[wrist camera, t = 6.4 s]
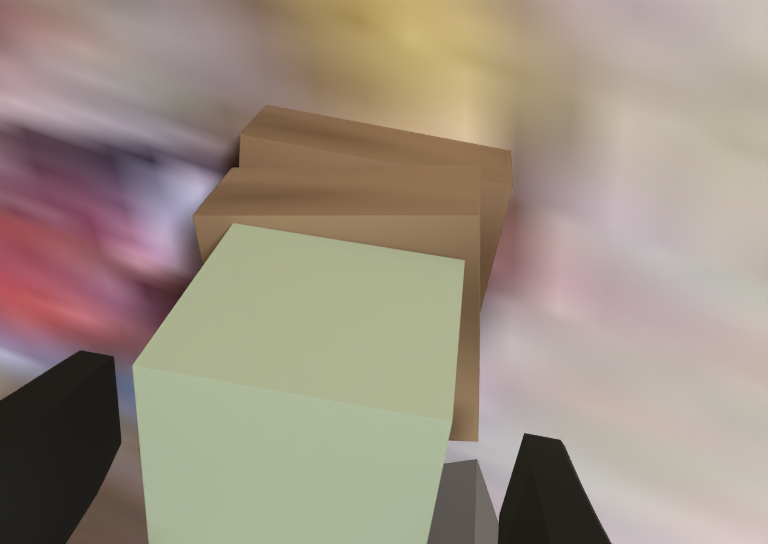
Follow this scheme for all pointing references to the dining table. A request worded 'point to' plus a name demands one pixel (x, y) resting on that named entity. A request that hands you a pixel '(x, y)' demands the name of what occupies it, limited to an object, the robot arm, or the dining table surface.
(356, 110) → the dining table surface
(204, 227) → the top slab
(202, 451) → the green cube
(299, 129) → the base slab
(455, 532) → the charcoal block
